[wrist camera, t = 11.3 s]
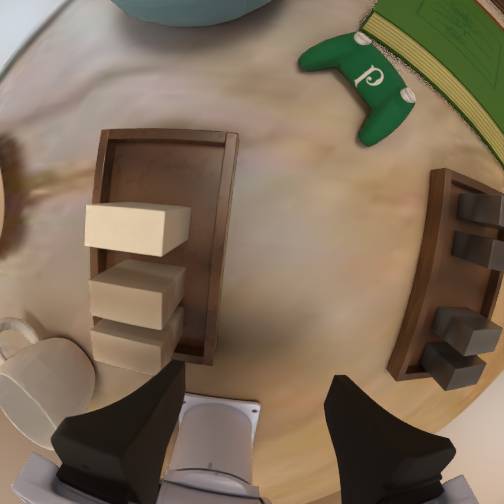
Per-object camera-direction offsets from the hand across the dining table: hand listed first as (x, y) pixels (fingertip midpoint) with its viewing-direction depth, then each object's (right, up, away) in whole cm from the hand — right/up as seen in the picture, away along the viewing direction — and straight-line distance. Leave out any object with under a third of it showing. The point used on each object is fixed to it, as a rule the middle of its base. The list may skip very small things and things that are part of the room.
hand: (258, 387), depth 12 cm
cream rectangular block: (-7, +9, +8) cm, 14 cm away
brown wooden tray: (-8, +7, +9) cm, 14 cm away
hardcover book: (+24, +29, +6) cm, 38 cm away
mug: (-21, -4, +12) cm, 24 cm away
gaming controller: (+8, +20, +7) cm, 23 cm away
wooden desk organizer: (+20, +3, +10) cm, 23 cm away
